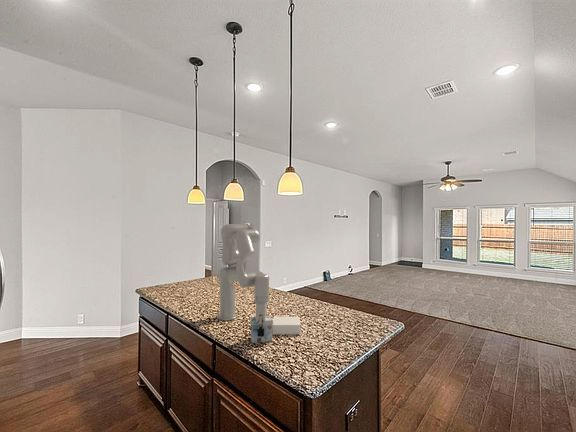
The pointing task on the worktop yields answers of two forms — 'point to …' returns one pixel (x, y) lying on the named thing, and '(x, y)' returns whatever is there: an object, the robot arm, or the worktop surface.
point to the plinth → (286, 325)
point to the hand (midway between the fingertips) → (261, 332)
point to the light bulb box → (267, 330)
